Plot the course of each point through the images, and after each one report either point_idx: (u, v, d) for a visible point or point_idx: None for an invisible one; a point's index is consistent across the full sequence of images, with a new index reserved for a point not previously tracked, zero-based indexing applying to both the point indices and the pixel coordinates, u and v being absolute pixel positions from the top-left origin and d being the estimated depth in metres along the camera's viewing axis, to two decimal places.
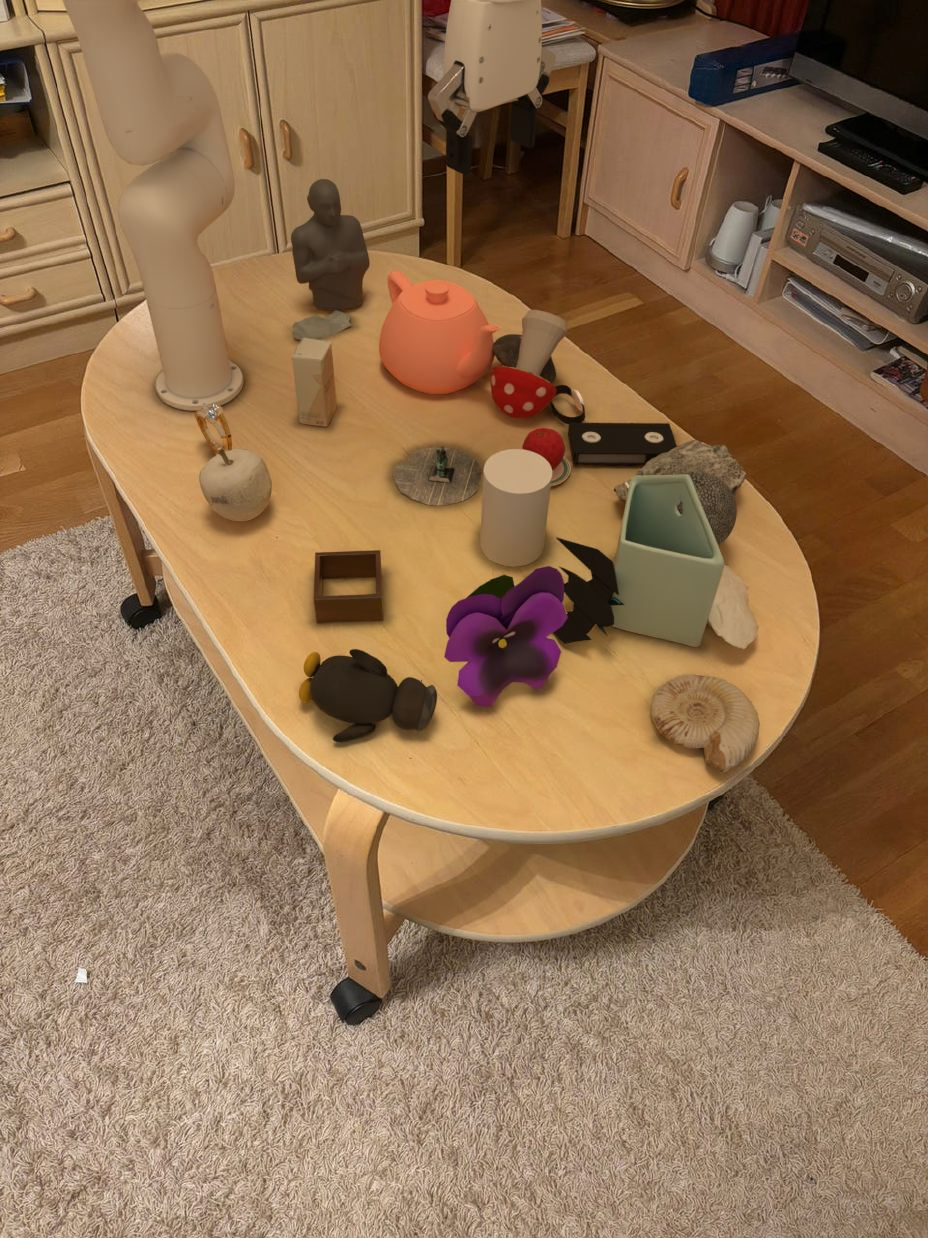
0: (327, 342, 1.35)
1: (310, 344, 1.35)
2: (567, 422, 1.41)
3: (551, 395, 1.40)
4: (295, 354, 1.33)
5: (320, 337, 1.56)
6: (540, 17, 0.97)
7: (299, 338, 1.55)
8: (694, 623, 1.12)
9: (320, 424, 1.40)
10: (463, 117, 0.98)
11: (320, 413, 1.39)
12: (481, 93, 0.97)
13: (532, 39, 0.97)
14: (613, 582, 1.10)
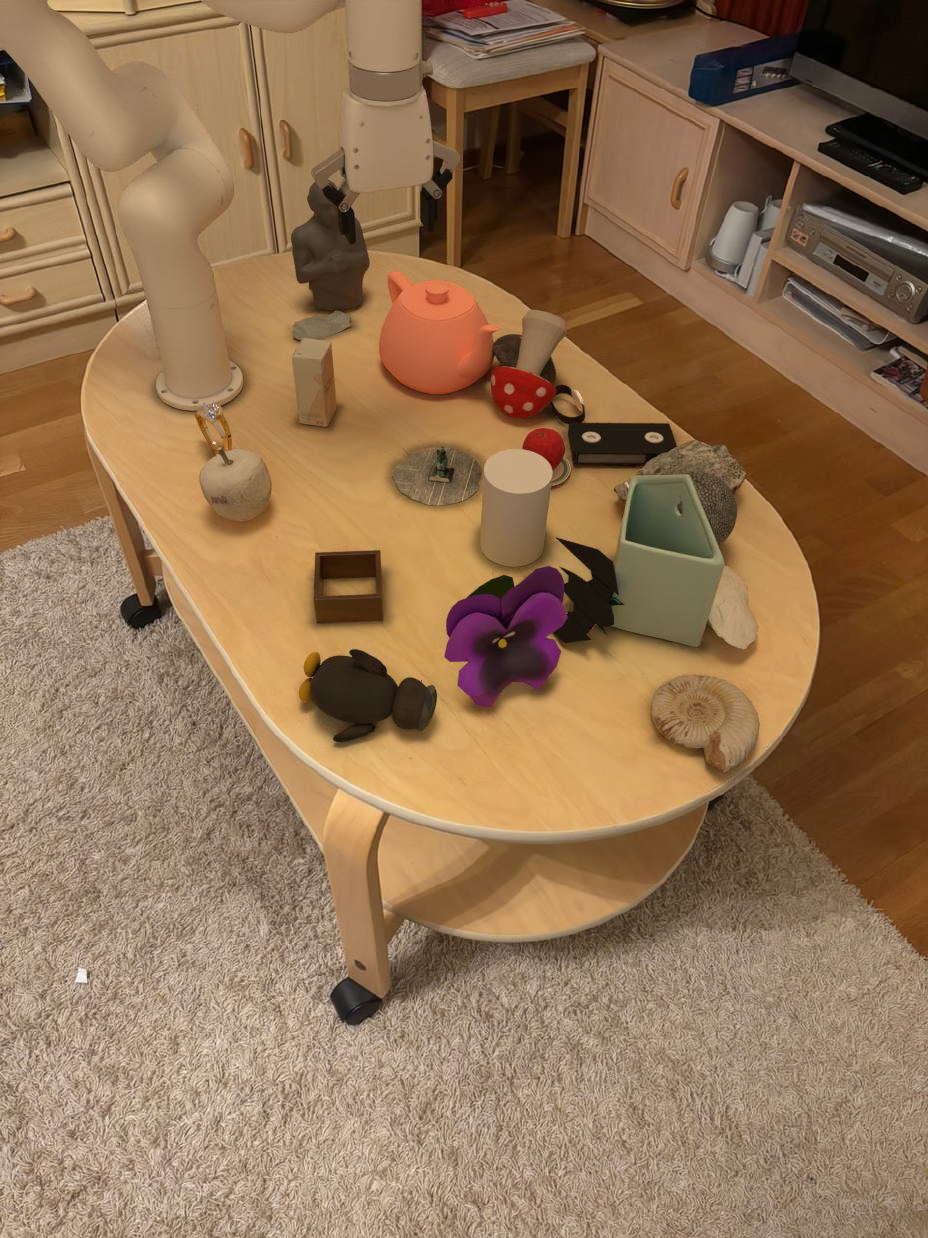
0: (327, 342, 1.35)
1: (310, 343, 1.35)
2: (567, 422, 1.41)
3: (551, 395, 1.40)
4: (295, 354, 1.33)
5: (320, 337, 1.56)
6: (427, 121, 1.07)
7: (299, 338, 1.55)
8: (694, 623, 1.12)
9: (320, 424, 1.40)
10: (344, 195, 1.11)
11: (320, 413, 1.39)
12: (358, 178, 1.09)
13: (416, 139, 1.08)
14: (613, 582, 1.10)
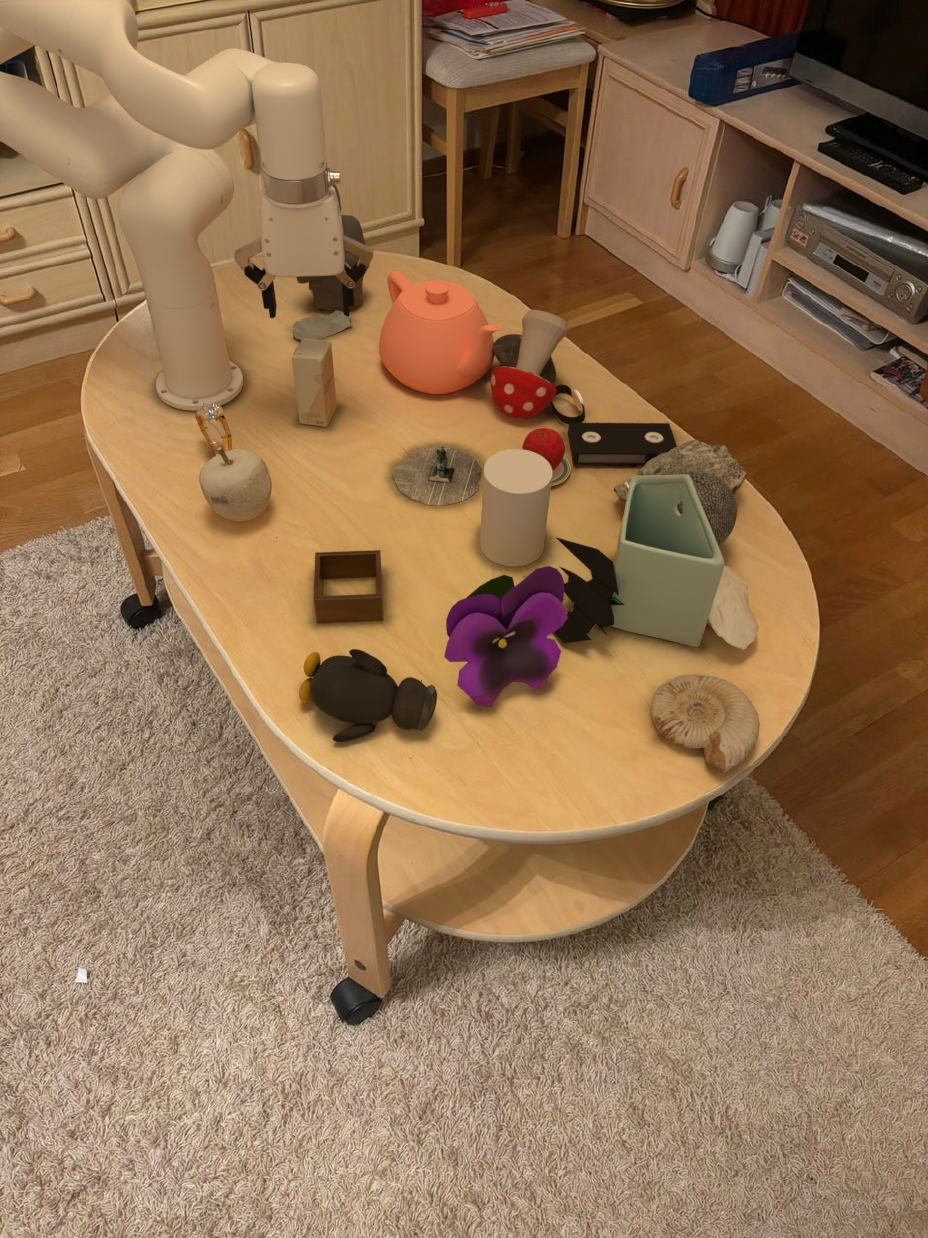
0: (327, 342, 1.35)
1: (310, 344, 1.35)
2: (567, 422, 1.41)
3: (551, 395, 1.40)
4: (295, 354, 1.33)
5: (320, 337, 1.55)
6: (333, 223, 1.19)
7: (299, 337, 1.55)
8: (694, 623, 1.12)
9: (320, 424, 1.40)
10: (262, 276, 1.24)
11: (320, 413, 1.39)
12: (271, 264, 1.22)
13: (323, 237, 1.20)
14: (613, 582, 1.10)
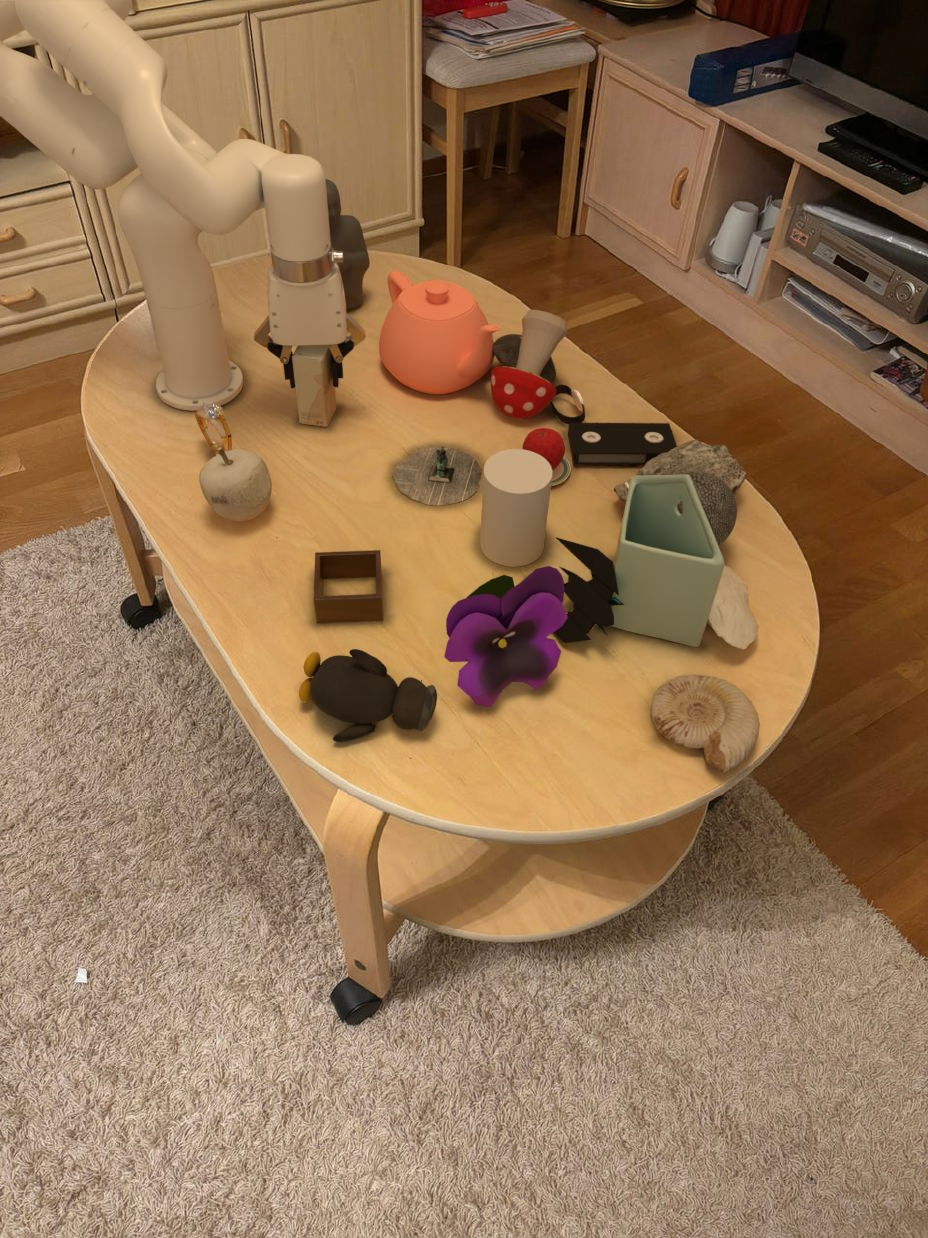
0: None
1: None
2: (567, 422, 1.41)
3: (551, 395, 1.40)
4: (295, 354, 1.33)
5: None
6: (336, 298, 1.27)
7: None
8: (694, 623, 1.12)
9: (320, 424, 1.40)
10: (281, 351, 1.33)
11: (320, 413, 1.39)
12: (278, 334, 1.30)
13: (327, 311, 1.28)
14: (613, 582, 1.10)
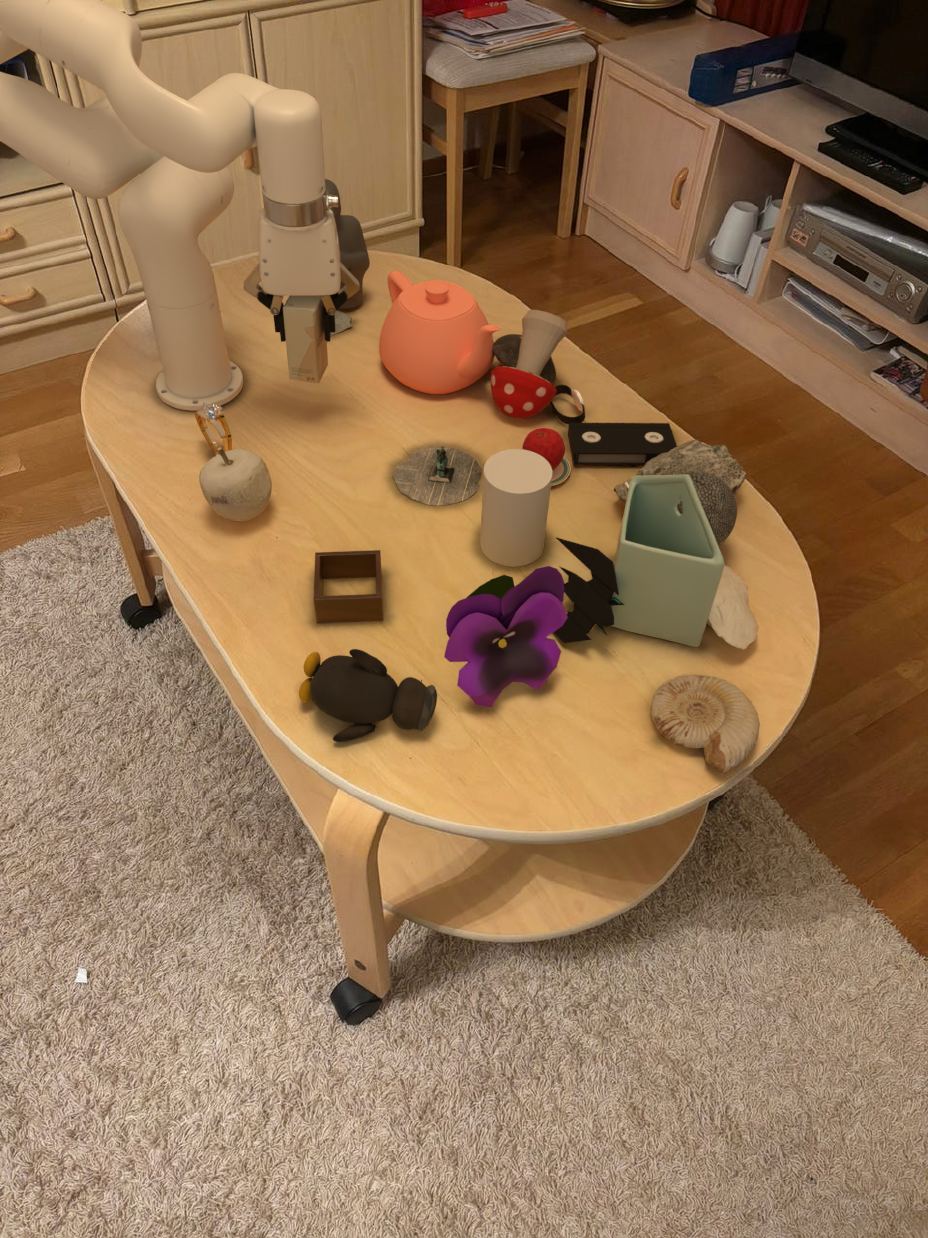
0: None
1: None
2: (567, 422, 1.41)
3: (551, 395, 1.40)
4: (286, 305, 1.28)
5: None
6: (330, 245, 1.21)
7: None
8: (694, 623, 1.12)
9: (311, 380, 1.35)
10: (271, 302, 1.28)
11: (311, 368, 1.34)
12: (268, 283, 1.24)
13: (320, 259, 1.22)
14: (613, 582, 1.10)
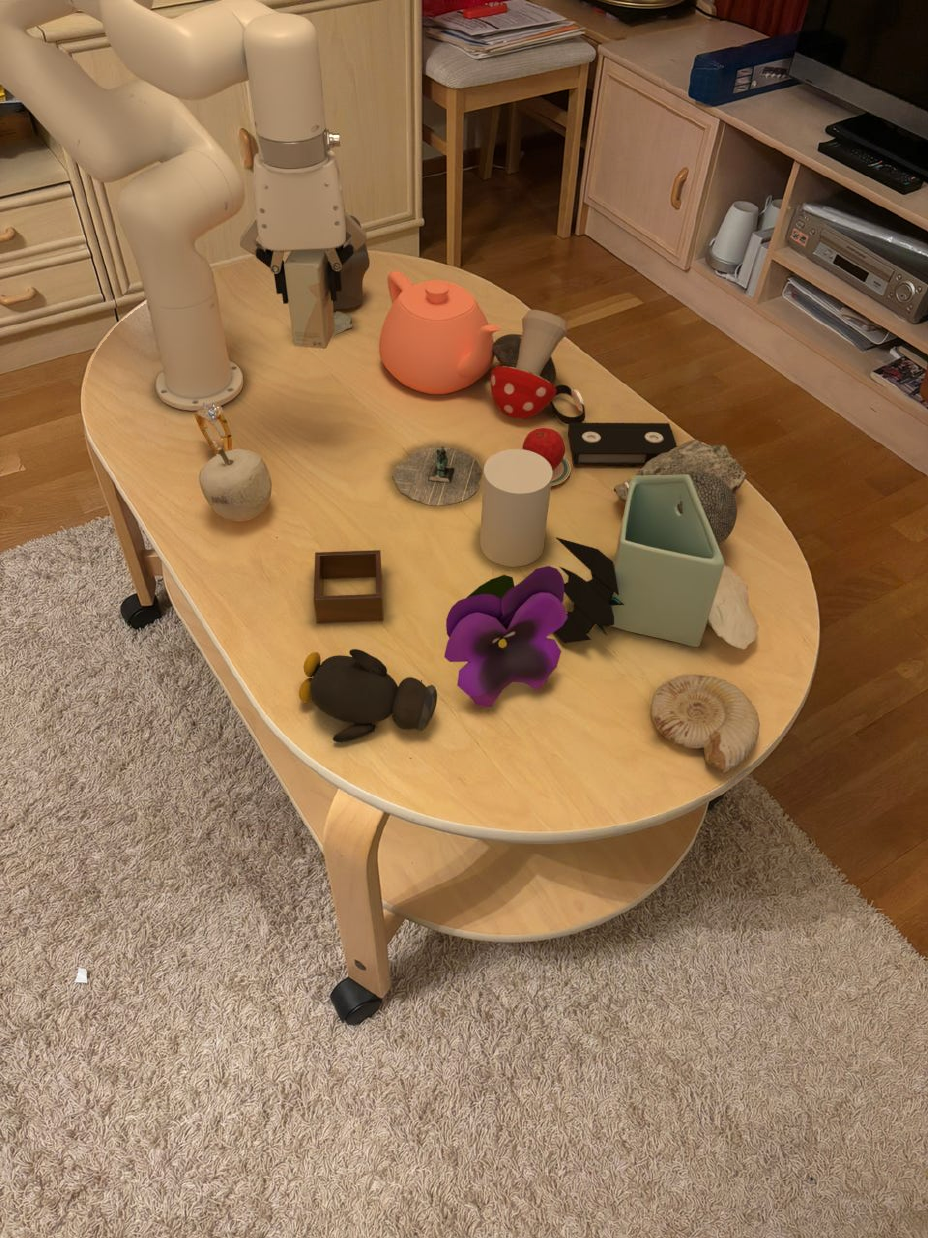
0: None
1: (304, 250, 1.18)
2: (567, 422, 1.41)
3: (551, 395, 1.40)
4: (287, 261, 1.17)
5: None
6: (333, 190, 1.10)
7: None
8: (694, 623, 1.12)
9: (318, 346, 1.24)
10: (271, 259, 1.16)
11: (317, 332, 1.22)
12: (267, 236, 1.13)
13: (323, 205, 1.11)
14: (613, 582, 1.10)
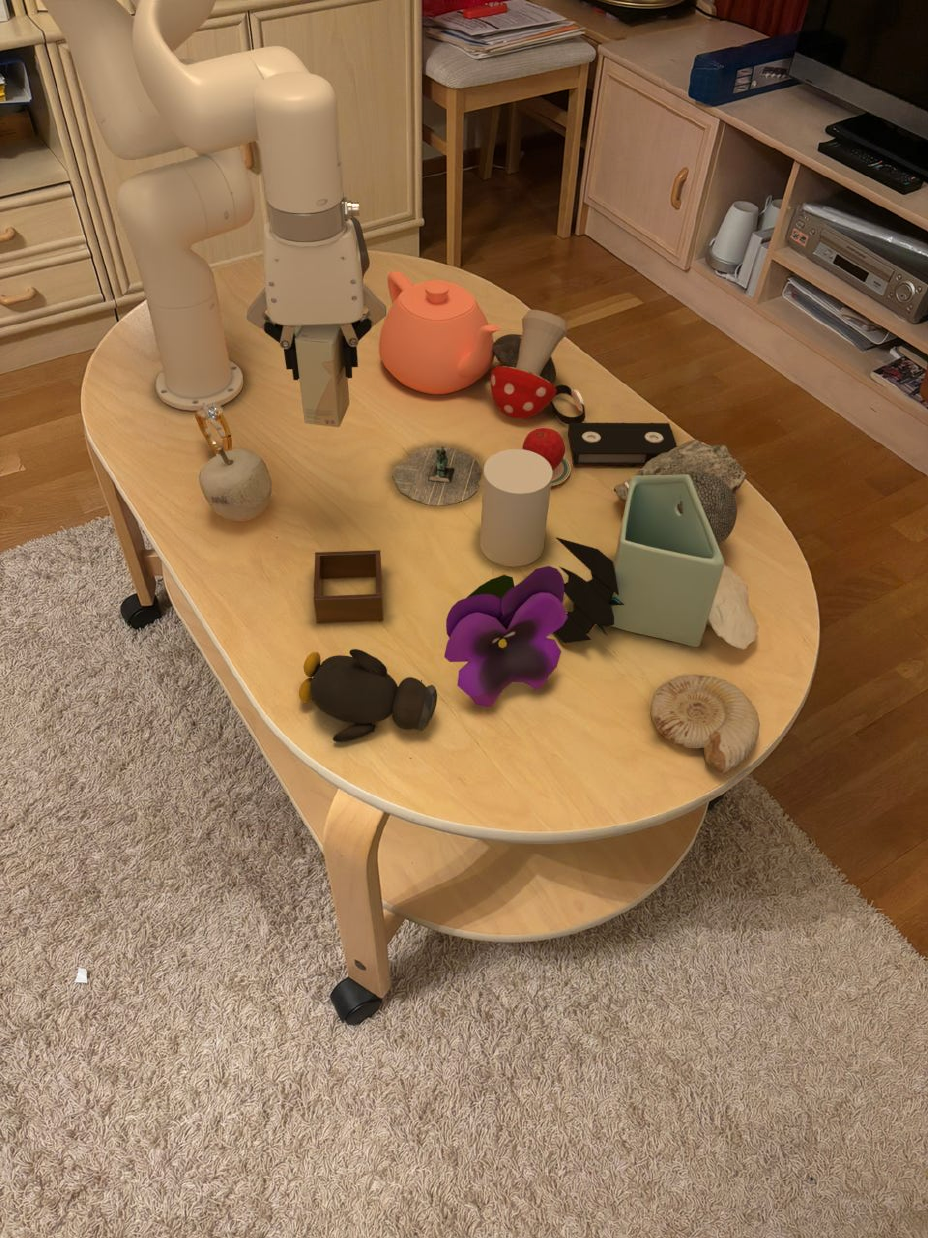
0: None
1: None
2: (567, 422, 1.41)
3: (551, 395, 1.40)
4: (299, 336, 1.06)
5: None
6: (350, 263, 0.99)
7: None
8: (694, 623, 1.12)
9: (330, 424, 1.13)
10: (281, 333, 1.06)
11: (330, 410, 1.12)
12: (276, 311, 1.03)
13: (339, 279, 1.00)
14: (613, 582, 1.10)
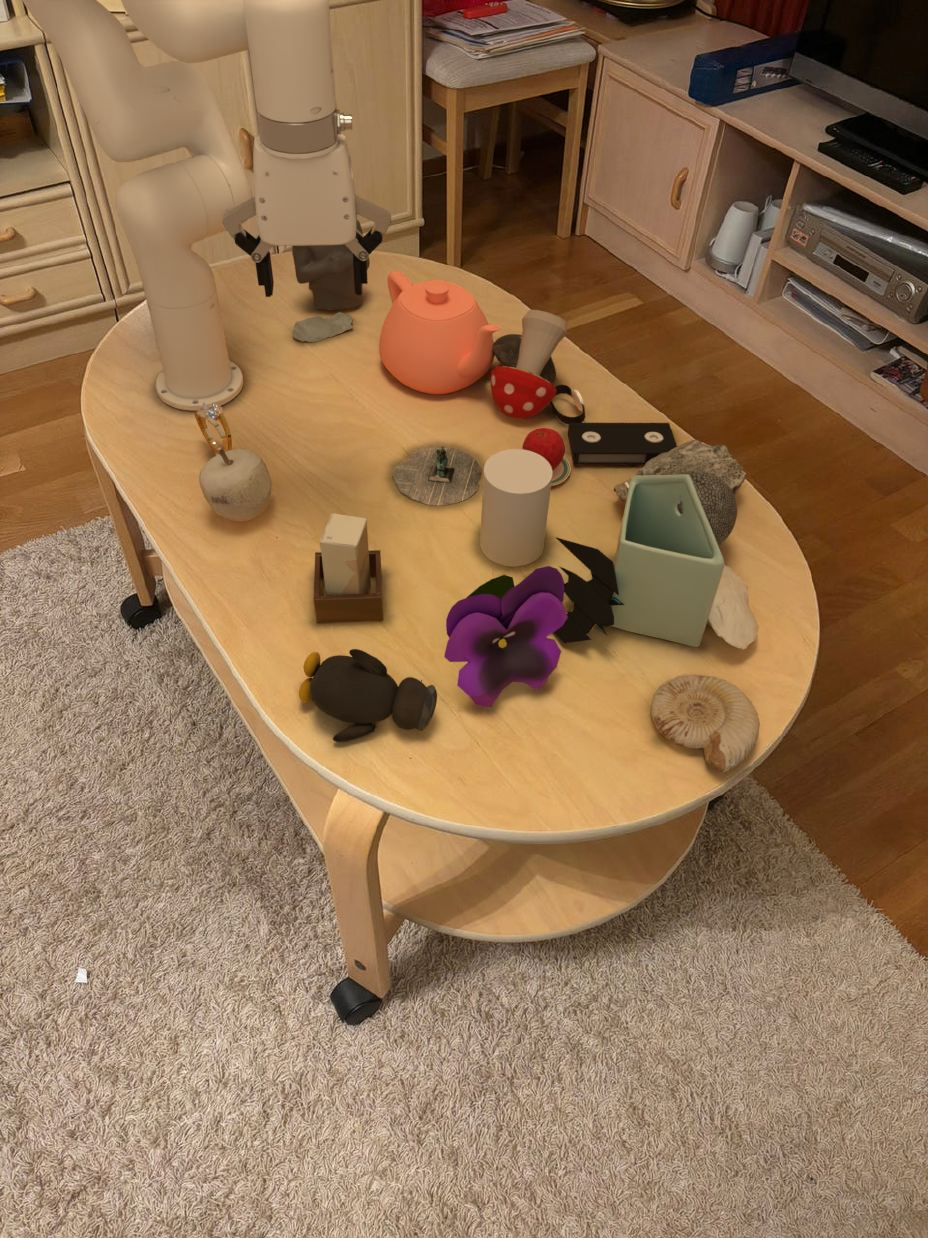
0: (362, 519, 1.12)
1: (341, 522, 1.11)
2: (567, 422, 1.41)
3: (551, 395, 1.40)
4: (324, 538, 1.10)
5: (319, 338, 1.55)
6: (343, 179, 0.97)
7: (298, 338, 1.54)
8: (694, 623, 1.12)
9: None
10: (257, 245, 1.03)
11: None
12: (267, 229, 1.00)
13: (331, 196, 0.98)
14: (613, 582, 1.10)
